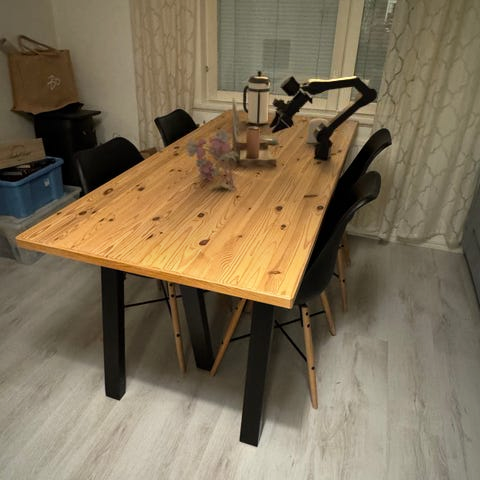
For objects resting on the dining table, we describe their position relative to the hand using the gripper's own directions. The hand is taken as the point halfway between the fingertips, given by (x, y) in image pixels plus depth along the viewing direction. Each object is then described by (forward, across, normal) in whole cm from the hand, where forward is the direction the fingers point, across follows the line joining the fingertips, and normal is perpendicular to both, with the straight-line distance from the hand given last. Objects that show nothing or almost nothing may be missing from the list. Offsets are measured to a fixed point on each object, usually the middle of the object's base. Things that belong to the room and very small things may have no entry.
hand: (270, 130), depth 181 cm
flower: (+28, +31, -10) cm, 43 cm away
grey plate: (+9, -25, +10) cm, 28 cm away
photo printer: (-9, -25, +29) cm, 40 cm away
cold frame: (+15, +1, +3) cm, 15 cm away
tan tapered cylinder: (+14, +1, +2) cm, 15 cm away
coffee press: (+10, -64, +8) cm, 65 cm away
